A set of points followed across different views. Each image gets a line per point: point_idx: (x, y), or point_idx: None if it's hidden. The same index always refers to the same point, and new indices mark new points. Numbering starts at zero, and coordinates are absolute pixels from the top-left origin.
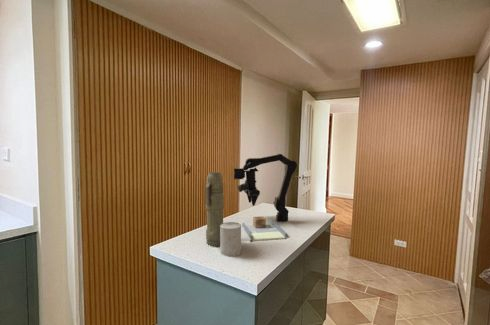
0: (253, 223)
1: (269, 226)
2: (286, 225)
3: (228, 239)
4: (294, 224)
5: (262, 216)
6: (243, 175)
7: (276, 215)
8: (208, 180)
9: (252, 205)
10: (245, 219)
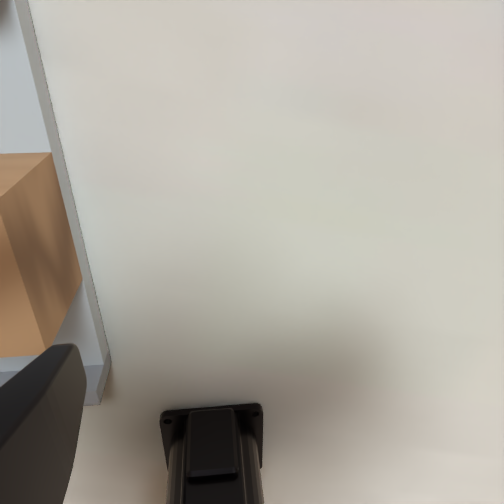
0: (17, 163)
1: None
2: (122, 448)
3: None
4: (146, 494)
5: (37, 346)
6: None
7: (223, 466)
8: None
9: (67, 344)
10: (449, 106)
